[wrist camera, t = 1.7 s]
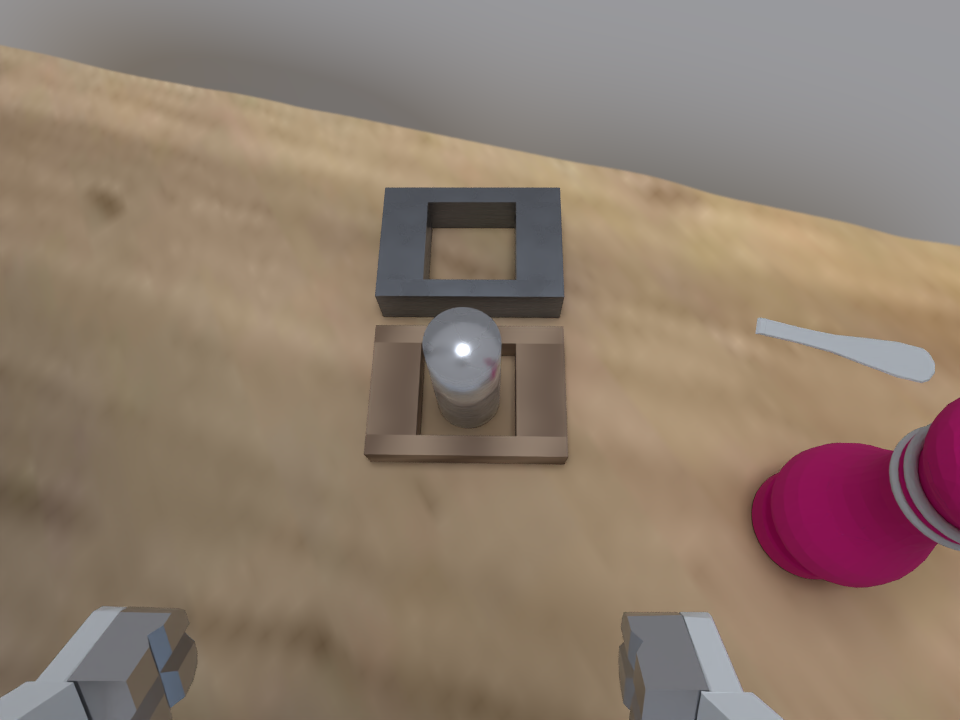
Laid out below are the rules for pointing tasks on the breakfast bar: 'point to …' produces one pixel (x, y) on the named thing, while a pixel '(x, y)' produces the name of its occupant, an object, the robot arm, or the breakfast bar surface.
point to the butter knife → (859, 350)
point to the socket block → (425, 208)
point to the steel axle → (464, 365)
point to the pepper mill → (864, 506)
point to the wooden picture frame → (534, 443)
